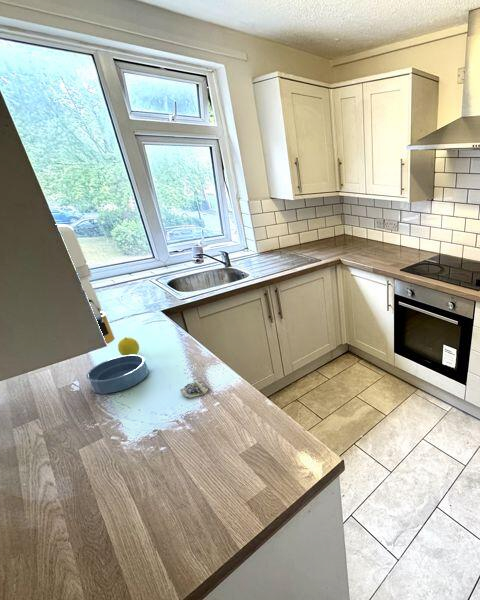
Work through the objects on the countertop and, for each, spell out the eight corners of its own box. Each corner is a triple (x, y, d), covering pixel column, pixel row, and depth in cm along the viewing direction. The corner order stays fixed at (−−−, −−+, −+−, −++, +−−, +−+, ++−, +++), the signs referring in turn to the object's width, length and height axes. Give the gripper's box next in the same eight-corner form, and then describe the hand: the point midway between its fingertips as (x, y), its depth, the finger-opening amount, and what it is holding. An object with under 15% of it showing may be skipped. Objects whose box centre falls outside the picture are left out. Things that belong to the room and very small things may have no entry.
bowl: (105, 401, 95) (98, 387, 93) (84, 385, 101) (78, 372, 99) (157, 375, 106) (152, 362, 104) (136, 362, 112) (131, 350, 110)
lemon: (145, 355, 116) (138, 336, 113) (127, 363, 112) (119, 343, 109) (137, 351, 119) (130, 332, 116) (119, 358, 115) (111, 339, 111)
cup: (89, 350, 90) (78, 324, 87) (79, 343, 93) (68, 318, 90) (119, 339, 95) (109, 315, 92) (108, 333, 98) (99, 309, 95)
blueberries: (194, 381, 103) (192, 376, 103) (215, 385, 101) (213, 380, 101) (175, 395, 97) (173, 390, 97) (197, 400, 95) (196, 395, 95)
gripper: (39, 271, 87) (66, 330, 94) (64, 283, 79) (92, 347, 86) (75, 264, 93) (98, 320, 100) (102, 274, 85) (125, 334, 92)
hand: (95, 332), depth 93 cm, fingers closed on cup, 6 cm apart
